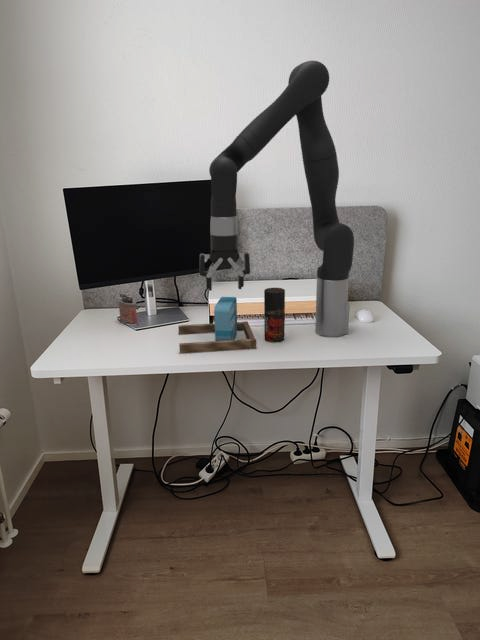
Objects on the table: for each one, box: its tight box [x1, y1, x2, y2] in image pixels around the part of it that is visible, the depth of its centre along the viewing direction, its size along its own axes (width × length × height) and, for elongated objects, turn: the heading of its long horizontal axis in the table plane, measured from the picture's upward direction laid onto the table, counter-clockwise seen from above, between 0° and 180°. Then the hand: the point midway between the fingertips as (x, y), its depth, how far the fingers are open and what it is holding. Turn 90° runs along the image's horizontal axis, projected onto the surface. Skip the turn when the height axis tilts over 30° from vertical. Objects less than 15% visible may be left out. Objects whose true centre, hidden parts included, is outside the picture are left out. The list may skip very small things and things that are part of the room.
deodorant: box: [263, 287, 286, 344], centre depth 150 cm, size 6×6×15 cm
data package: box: [213, 296, 238, 341], centre depth 150 cm, size 12×4×12 cm, turn 171°
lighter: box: [117, 292, 139, 326], centre depth 167 cm, size 8×3×10 cm, turn 47°
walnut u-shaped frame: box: [177, 320, 257, 355], centre depth 151 cm, size 22×17×2 cm
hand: (224, 289), depth 147 cm, fingers open, 8 cm apart
